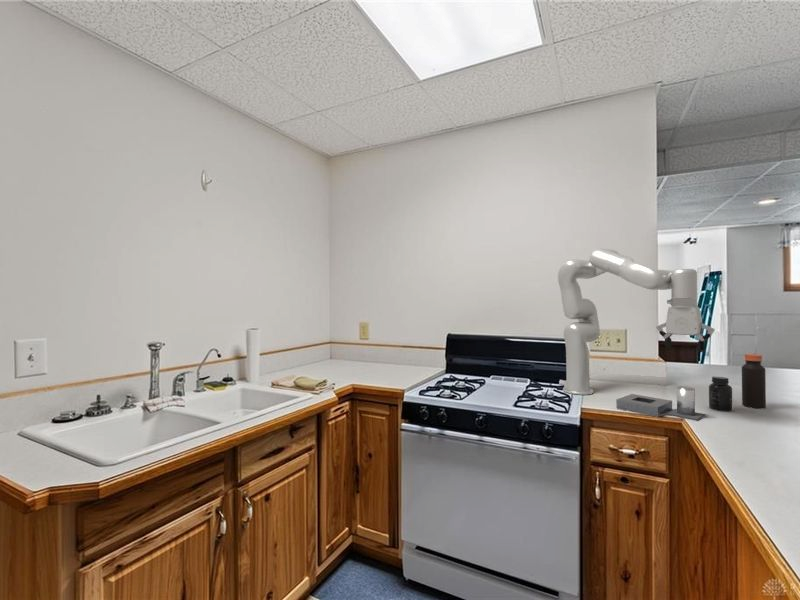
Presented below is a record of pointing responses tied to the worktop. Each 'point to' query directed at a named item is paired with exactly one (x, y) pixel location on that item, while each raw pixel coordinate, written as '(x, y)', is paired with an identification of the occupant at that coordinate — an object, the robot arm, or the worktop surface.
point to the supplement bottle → (720, 394)
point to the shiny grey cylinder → (686, 400)
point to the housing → (644, 405)
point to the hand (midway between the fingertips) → (684, 350)
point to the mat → (695, 417)
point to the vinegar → (753, 382)
